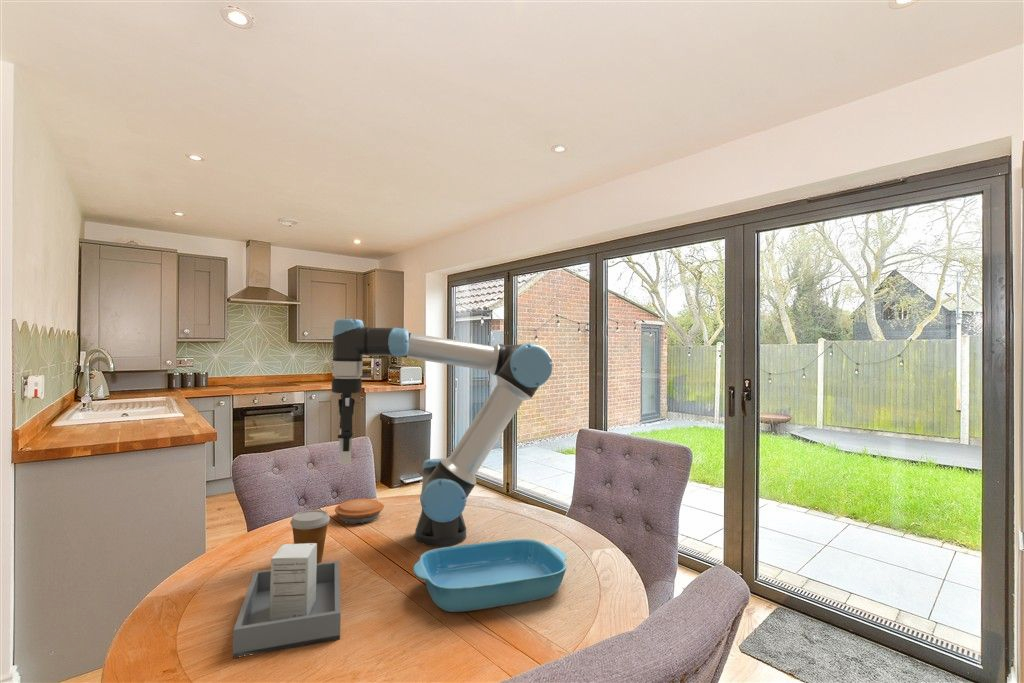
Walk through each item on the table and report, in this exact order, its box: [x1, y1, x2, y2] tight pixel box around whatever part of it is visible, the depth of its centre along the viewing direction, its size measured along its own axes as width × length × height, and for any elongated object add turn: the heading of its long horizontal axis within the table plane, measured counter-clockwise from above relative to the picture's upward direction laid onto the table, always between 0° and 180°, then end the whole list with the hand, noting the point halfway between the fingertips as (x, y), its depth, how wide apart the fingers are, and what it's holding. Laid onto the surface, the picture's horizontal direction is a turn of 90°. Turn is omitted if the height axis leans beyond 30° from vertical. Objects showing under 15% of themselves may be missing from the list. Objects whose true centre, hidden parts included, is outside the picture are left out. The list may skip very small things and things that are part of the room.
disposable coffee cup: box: [290, 509, 331, 563], centre depth 125 cm, size 10×10×12 cm
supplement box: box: [269, 543, 317, 621], centre depth 100 cm, size 7×7×13 cm
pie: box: [334, 498, 385, 524], centre depth 158 cm, size 16×16×5 cm
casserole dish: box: [412, 538, 567, 613], centre depth 113 cm, size 37×22×7 cm, turn 111°
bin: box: [232, 560, 342, 659], centre depth 100 cm, size 18×24×5 cm
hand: (344, 458), depth 126 cm, fingers open, 13 cm apart
